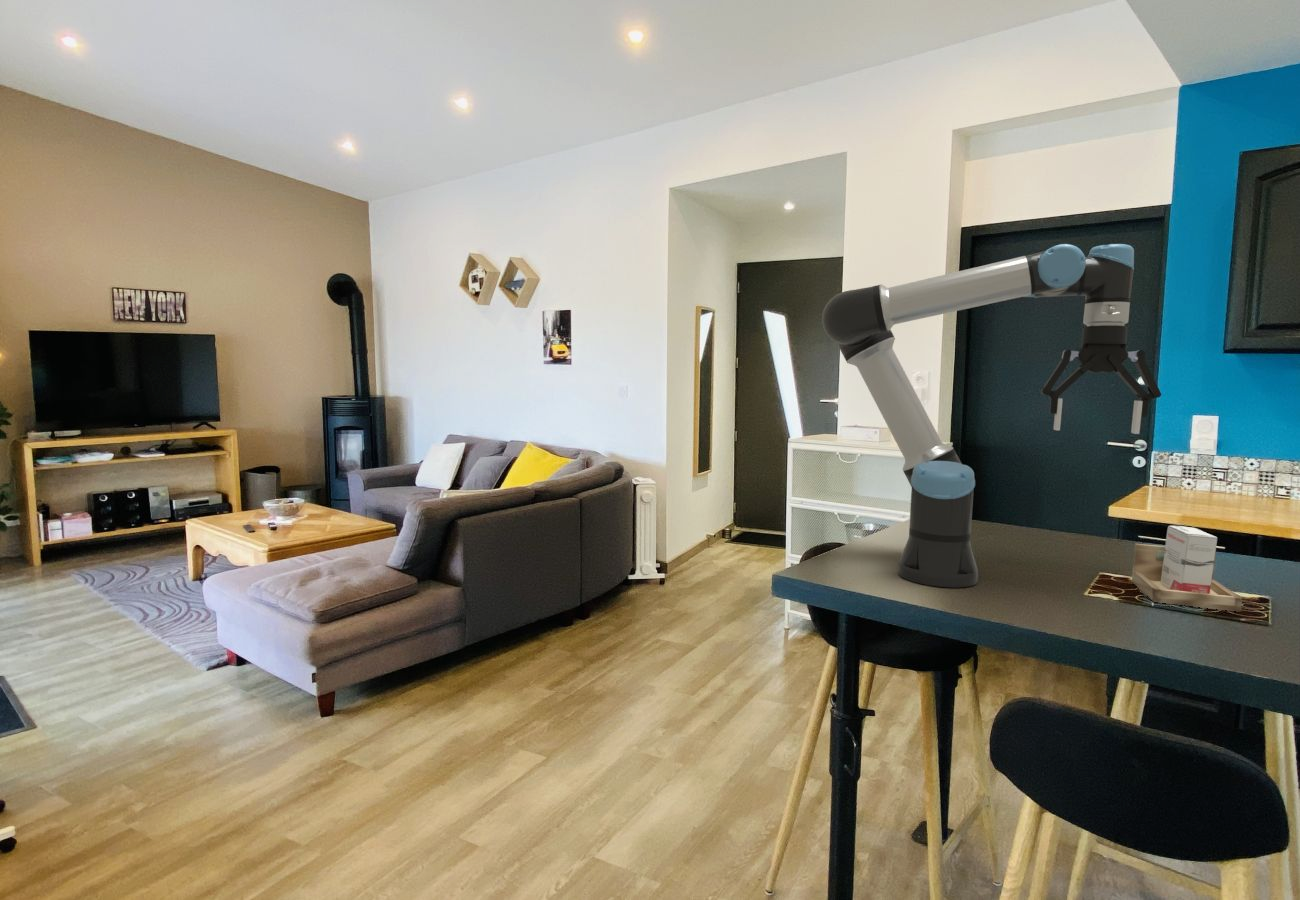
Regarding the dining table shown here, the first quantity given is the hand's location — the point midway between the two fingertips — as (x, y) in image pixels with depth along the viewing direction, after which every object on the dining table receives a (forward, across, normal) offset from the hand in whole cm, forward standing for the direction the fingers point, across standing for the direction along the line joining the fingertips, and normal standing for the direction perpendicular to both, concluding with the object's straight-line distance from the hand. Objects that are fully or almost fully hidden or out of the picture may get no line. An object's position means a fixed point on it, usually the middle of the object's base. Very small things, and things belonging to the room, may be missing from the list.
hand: (1095, 431), depth 138 cm
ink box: (+29, +16, -6) cm, 34 cm away
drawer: (+30, +16, -6) cm, 35 cm away
